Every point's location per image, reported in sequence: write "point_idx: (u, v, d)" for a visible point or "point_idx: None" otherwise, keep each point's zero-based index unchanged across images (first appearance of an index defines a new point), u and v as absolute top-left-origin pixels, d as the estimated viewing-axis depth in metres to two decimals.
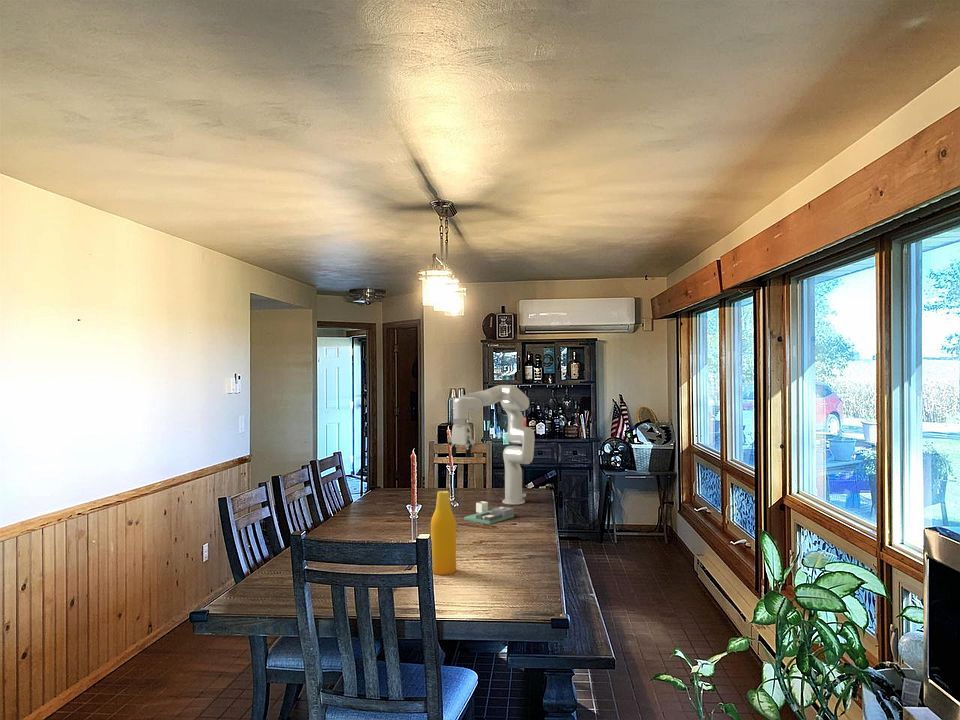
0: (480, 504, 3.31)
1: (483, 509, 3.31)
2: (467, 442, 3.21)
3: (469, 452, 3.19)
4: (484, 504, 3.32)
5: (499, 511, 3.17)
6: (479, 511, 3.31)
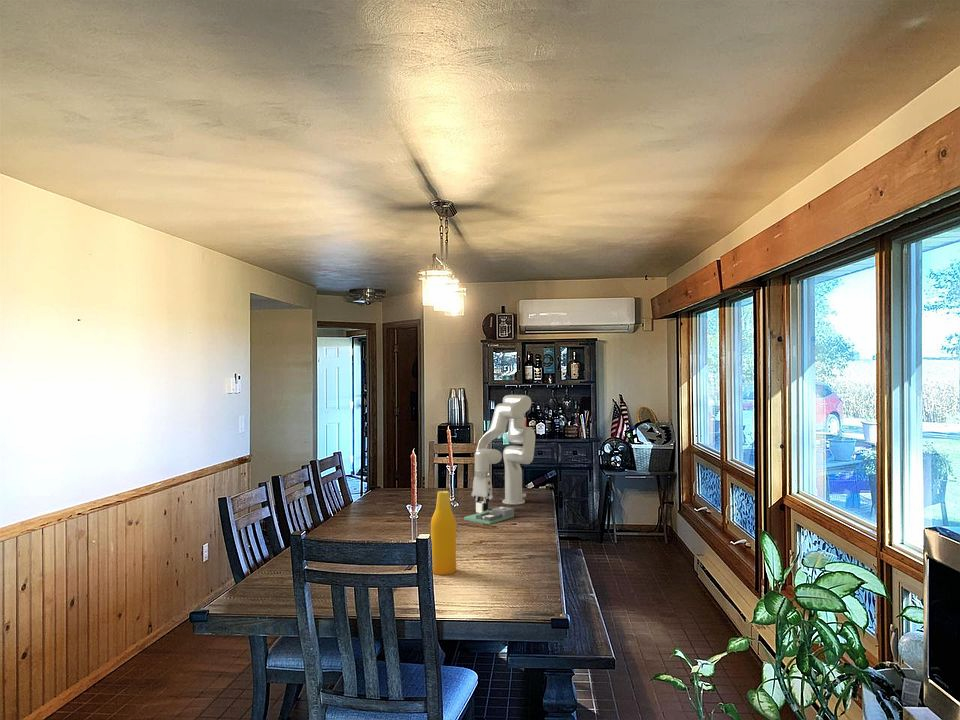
0: (480, 504, 3.31)
1: None
2: None
3: (486, 506, 3.31)
4: None
5: (499, 511, 3.17)
6: (479, 511, 3.31)
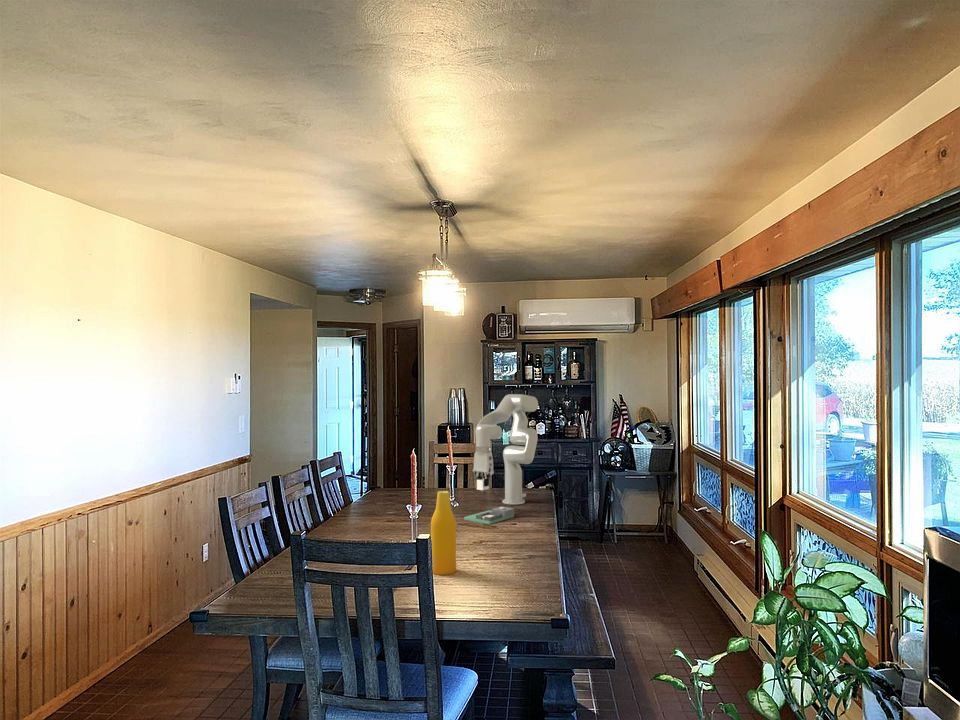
0: (481, 481, 3.26)
1: (483, 486, 3.26)
2: (487, 470, 3.28)
3: (487, 481, 3.27)
4: None
5: (499, 511, 3.17)
6: (480, 488, 3.27)
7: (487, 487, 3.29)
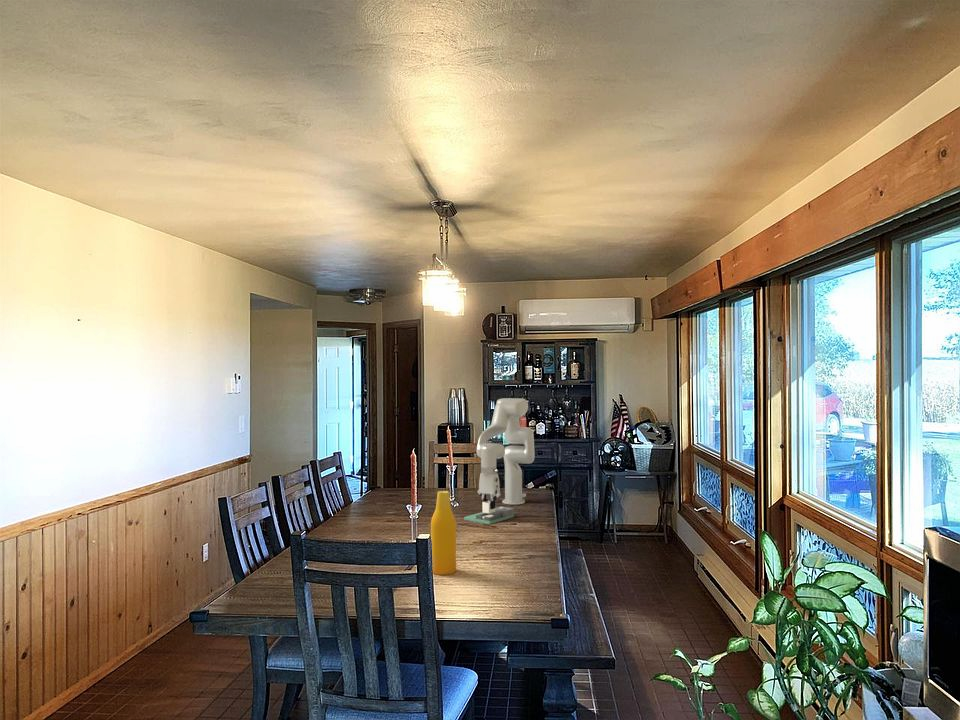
0: (487, 504, 3.11)
1: (490, 509, 3.11)
2: None
3: (493, 504, 3.12)
4: None
5: (499, 511, 3.17)
6: (486, 511, 3.12)
7: (493, 510, 3.14)
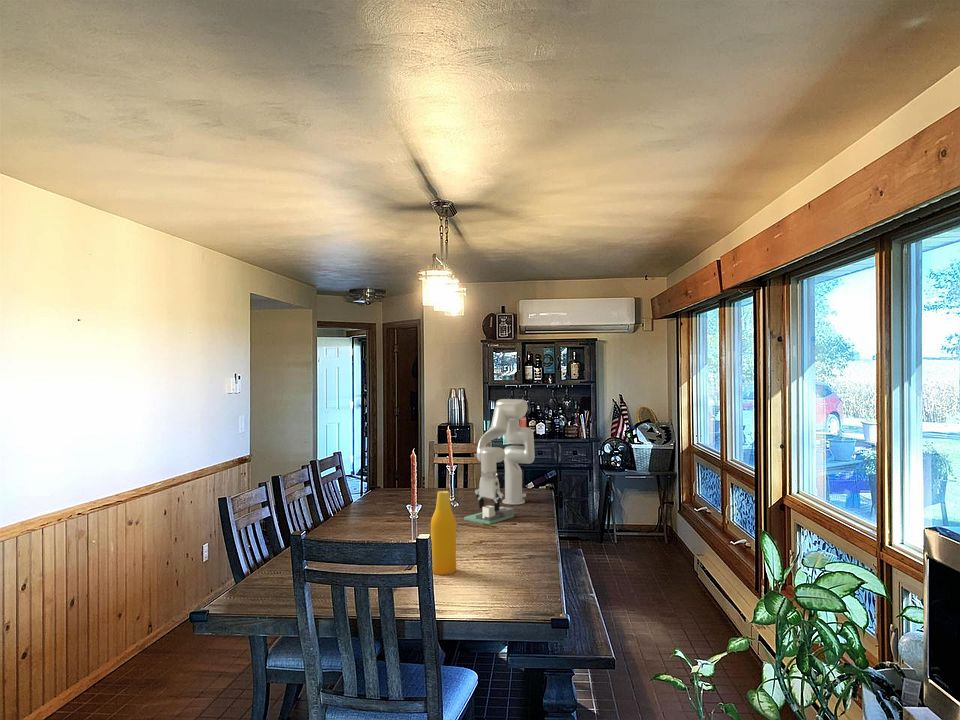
0: (487, 508, 3.11)
1: (490, 514, 3.11)
2: (495, 495, 3.13)
3: (498, 506, 3.10)
4: (491, 508, 3.12)
5: (499, 511, 3.17)
6: (486, 516, 3.12)
7: (493, 515, 3.13)
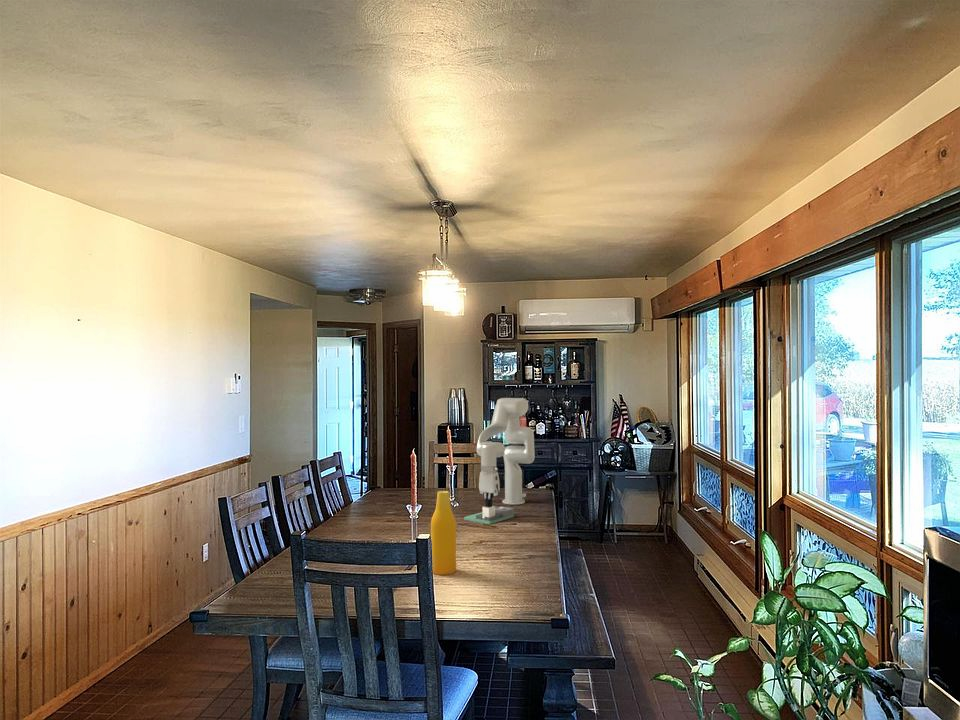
0: (487, 508, 3.11)
1: (490, 514, 3.11)
2: None
3: (490, 502, 3.13)
4: (491, 508, 3.12)
5: (499, 511, 3.17)
6: (486, 516, 3.12)
7: (493, 515, 3.13)
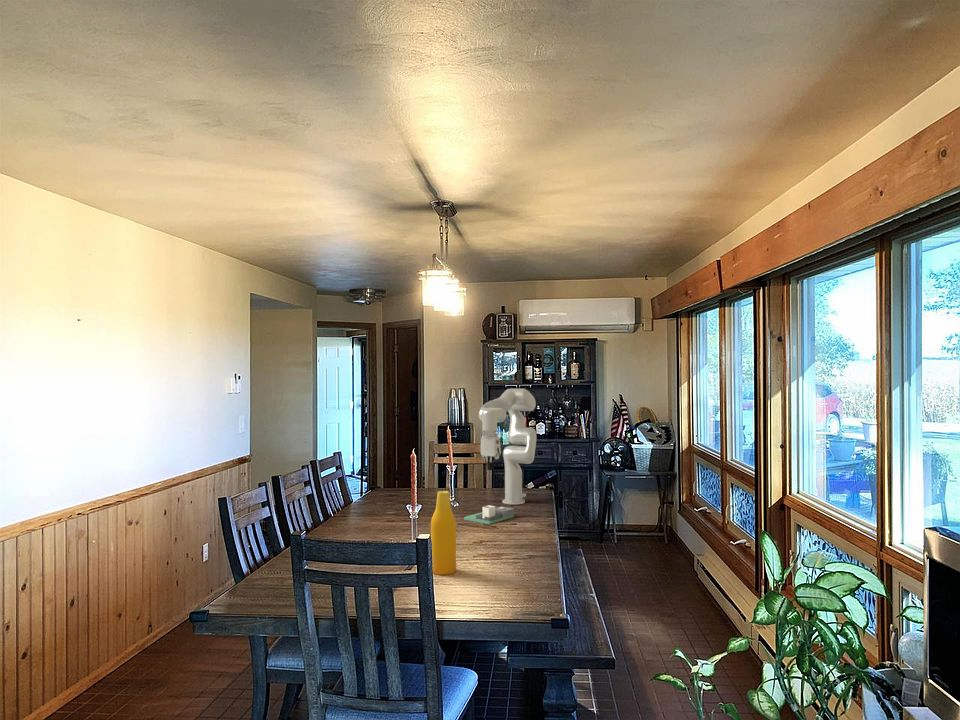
0: (487, 508, 3.11)
1: (490, 514, 3.11)
2: None
3: (492, 465, 3.24)
4: (491, 508, 3.12)
5: (499, 511, 3.17)
6: (486, 516, 3.12)
7: (493, 515, 3.13)
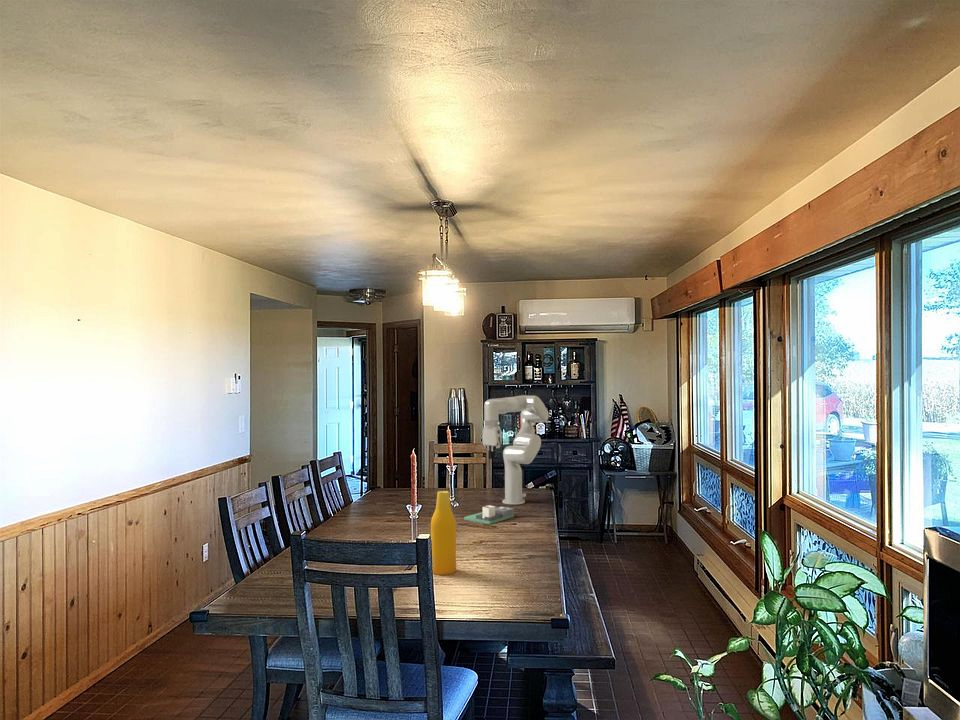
0: (487, 508, 3.11)
1: (490, 514, 3.11)
2: None
3: (493, 454, 3.38)
4: (491, 508, 3.12)
5: (499, 511, 3.17)
6: (486, 516, 3.12)
7: (493, 515, 3.13)
